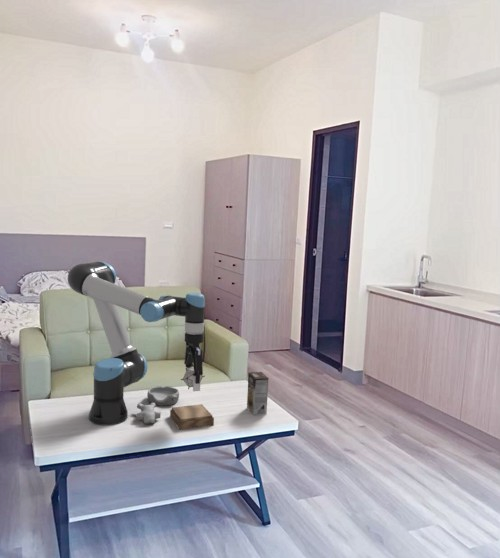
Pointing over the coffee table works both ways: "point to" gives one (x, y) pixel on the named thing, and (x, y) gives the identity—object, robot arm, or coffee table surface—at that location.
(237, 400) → the coffee table surface
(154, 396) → the dish
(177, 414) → the plinth
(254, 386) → the coffee box
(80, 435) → the coffee table surface
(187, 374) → the game die
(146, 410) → the grey teddy bear
